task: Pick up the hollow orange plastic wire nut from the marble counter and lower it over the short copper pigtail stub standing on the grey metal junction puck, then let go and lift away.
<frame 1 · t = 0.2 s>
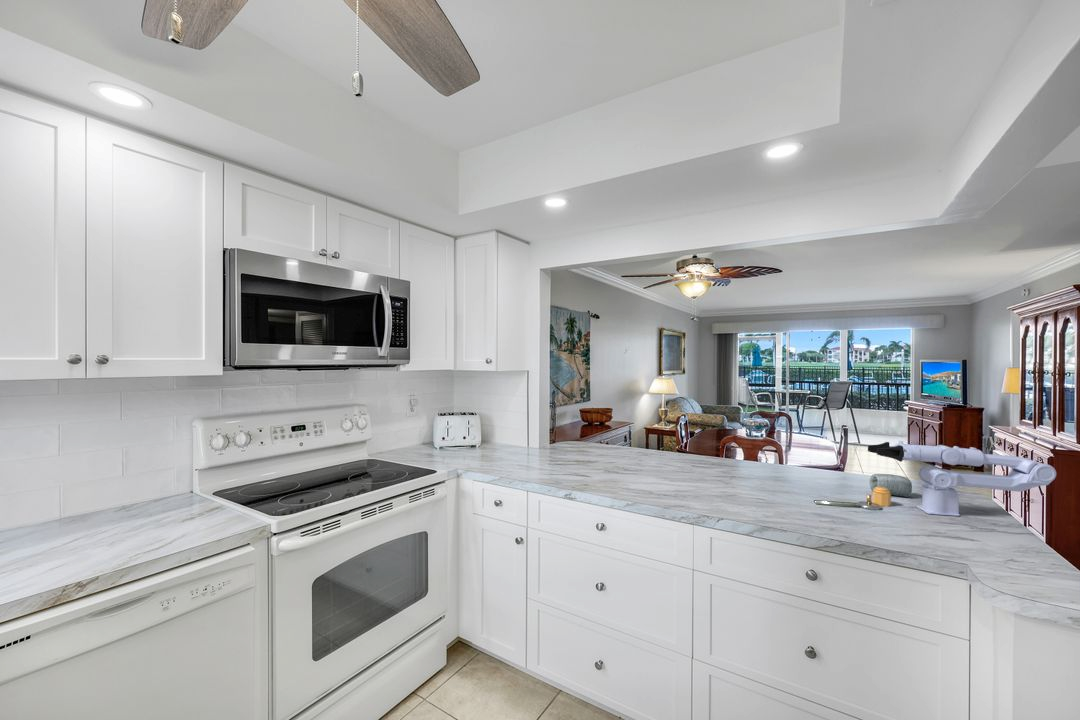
hand: (872, 450, 169), 21 cm above the worktop, fingers open, 7 cm apart
grey rounded block: (890, 495, 184), on the worktop
pigtail: (869, 507, 170), on the worktop
wire nut: (881, 504, 173), on the worktop
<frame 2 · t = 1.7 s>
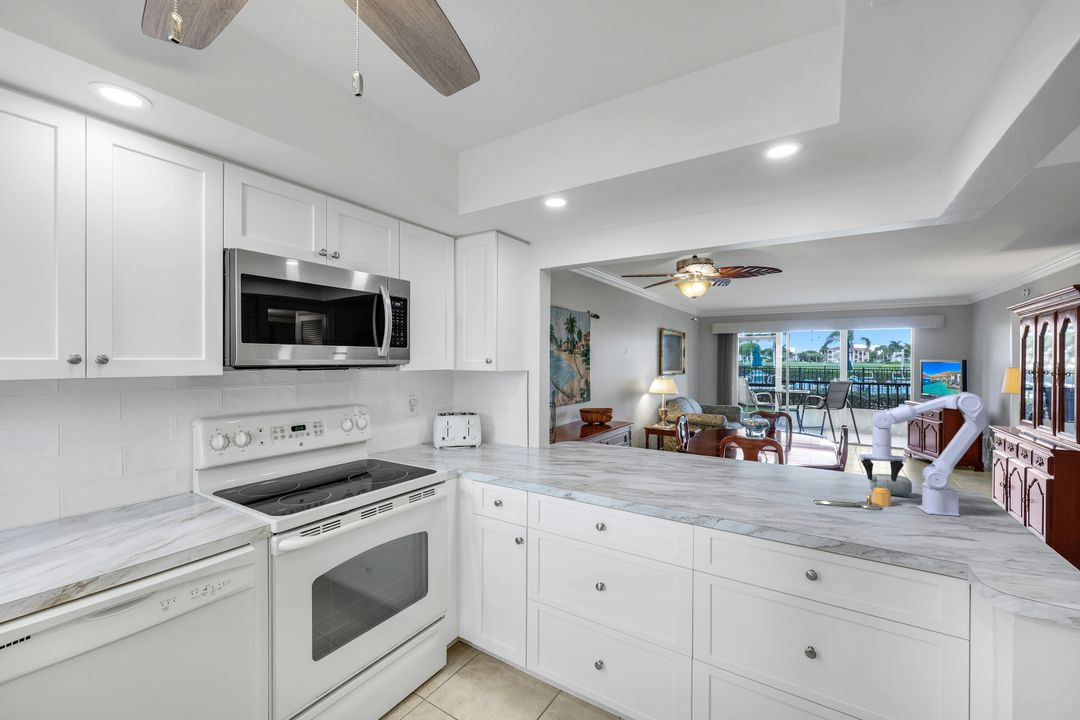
hand: (881, 480, 173), 9 cm above the worktop, fingers open, 7 cm apart
nothing on the worktop moved.
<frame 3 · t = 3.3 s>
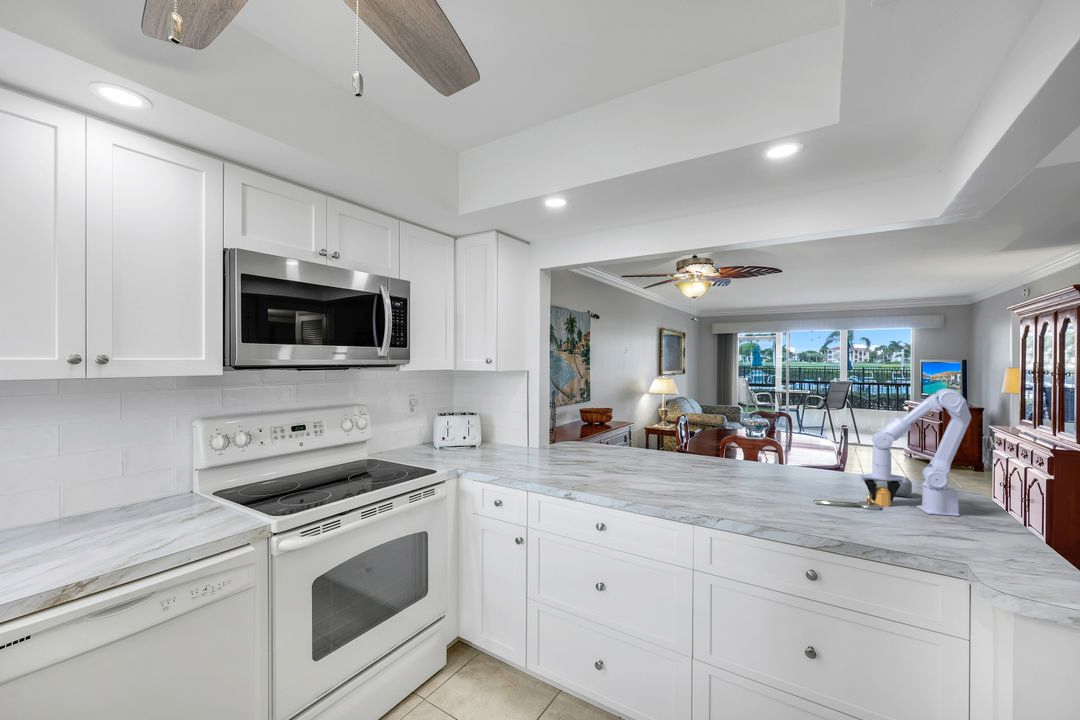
hand: (881, 500, 173), 1 cm above the worktop, fingers closed on wire nut, 5 cm apart
wire nut: (881, 504, 173), on the worktop, touching gripper
everything else where it was.
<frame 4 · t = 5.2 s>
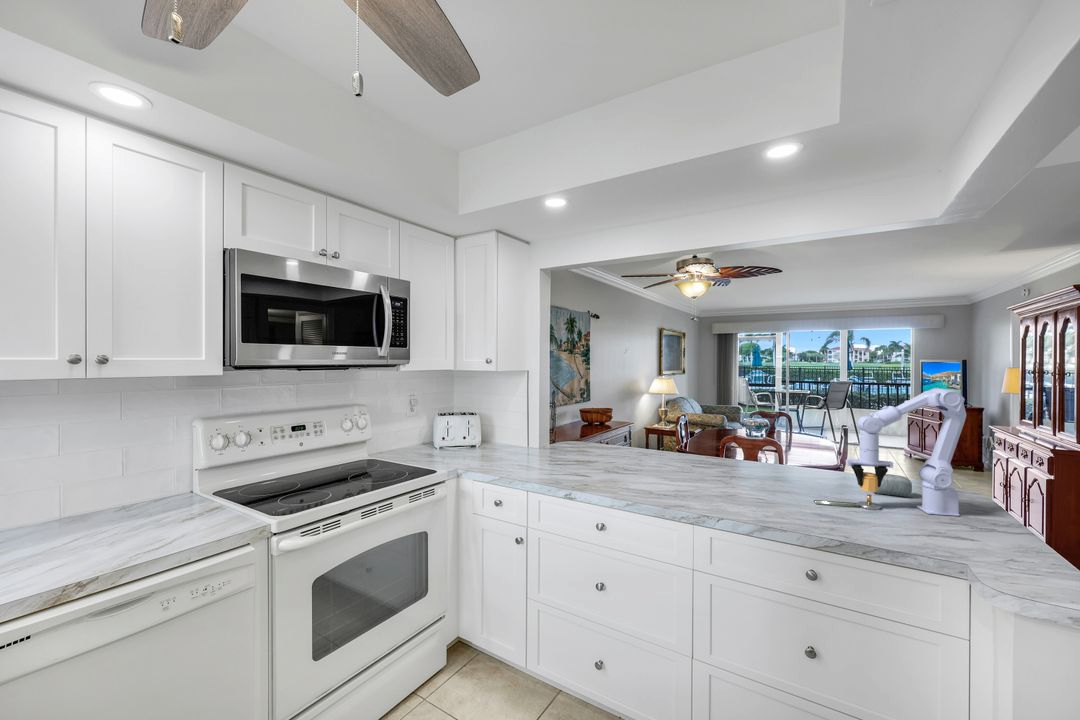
hand: (869, 485, 170), 8 cm above the worktop, fingers closed on wire nut, 5 cm apart
wire nut: (868, 489, 170), point 6 cm above the worktop, touching gripper
everything else where it was.
when the fingers open (3 cm above the worktop, at t = 7.0 s): wire nut stays where it is, resting on pigtail.
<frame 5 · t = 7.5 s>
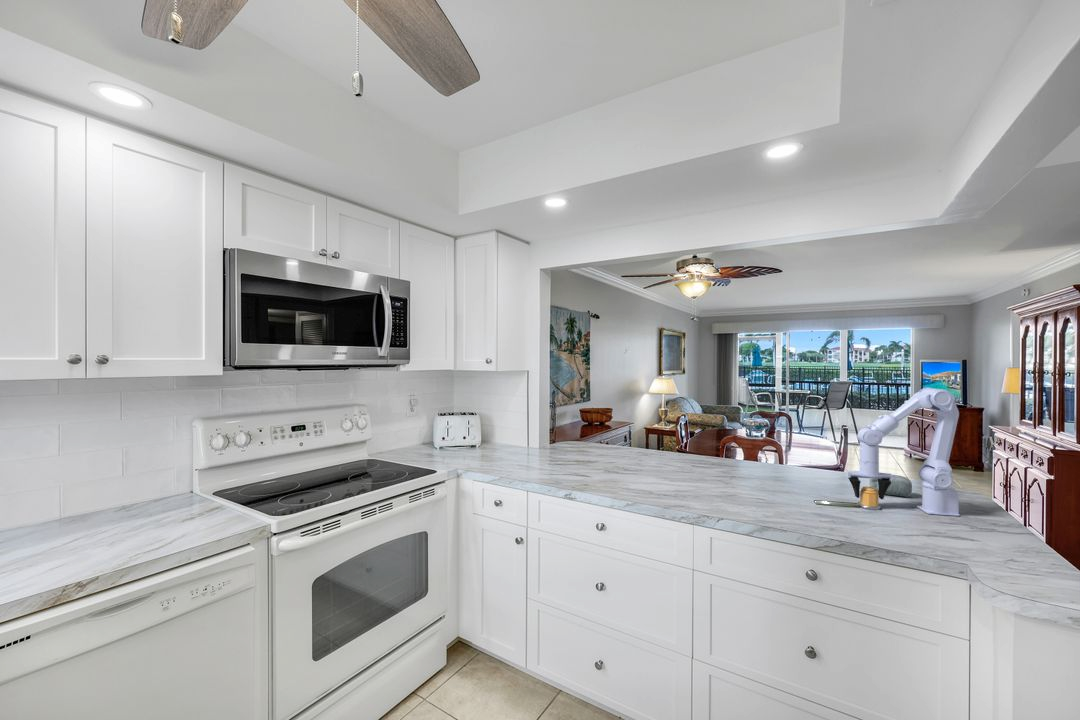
hand: (869, 497, 170), 3 cm above the worktop, fingers open, 7 cm apart
wire nut: (869, 504, 170), point 1 cm above the worktop, touching pigtail
everything else where it was.
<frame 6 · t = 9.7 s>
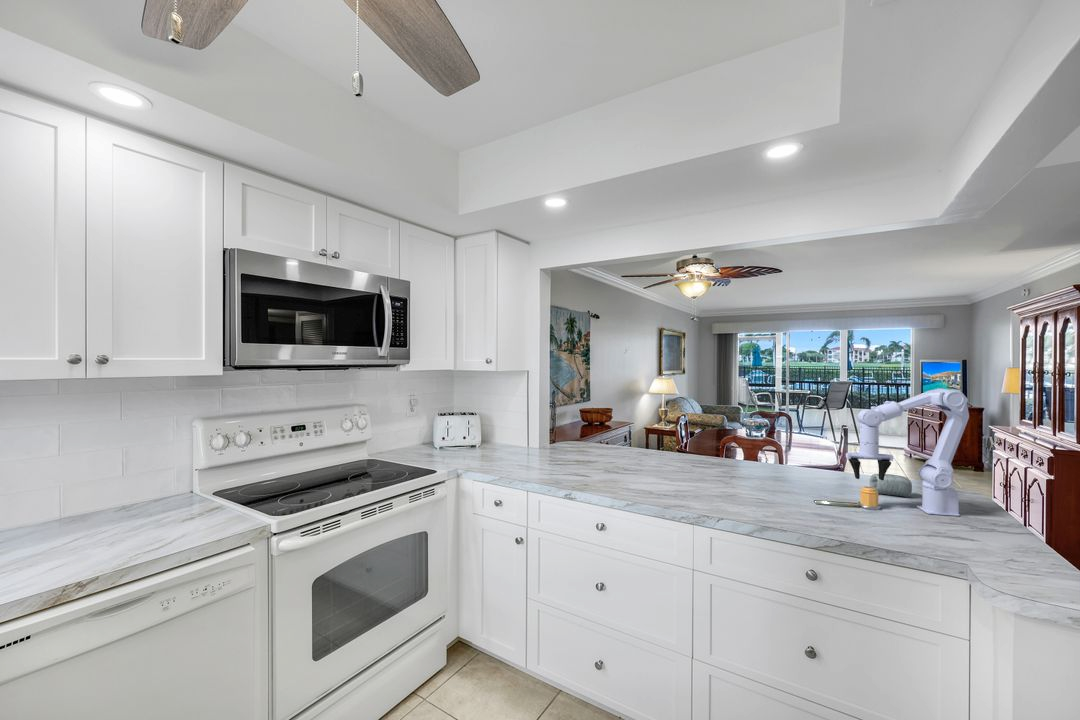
hand: (869, 479, 170), 10 cm above the worktop, fingers open, 7 cm apart
nothing on the worktop moved.
at the end: wire nut 0.1 cm from the pigtail (horizontally); wire nut point 1.0 cm above the worktop; wire nut tilted 0° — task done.
